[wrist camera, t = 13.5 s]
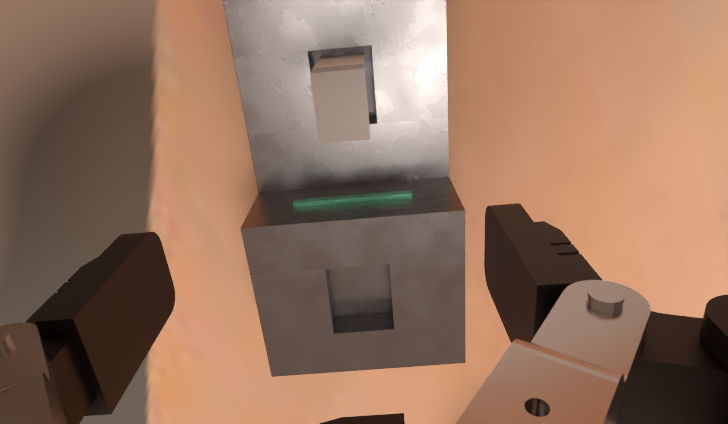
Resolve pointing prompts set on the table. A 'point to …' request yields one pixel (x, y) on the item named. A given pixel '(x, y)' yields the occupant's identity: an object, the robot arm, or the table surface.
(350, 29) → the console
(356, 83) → the plug
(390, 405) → the table surface
